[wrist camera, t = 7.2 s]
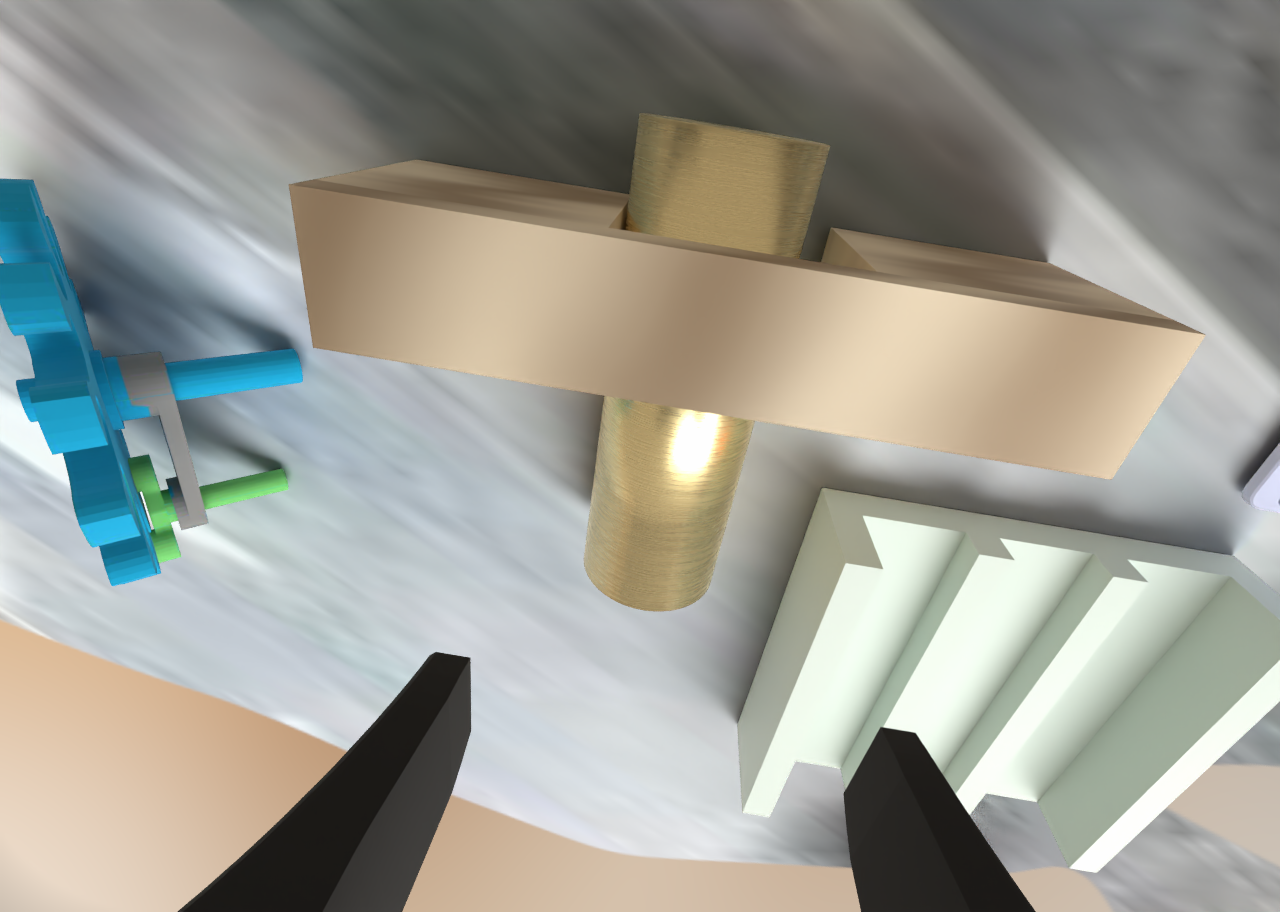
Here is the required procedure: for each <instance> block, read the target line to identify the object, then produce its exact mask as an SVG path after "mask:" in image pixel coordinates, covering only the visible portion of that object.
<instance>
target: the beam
mask: <svg viewBox="0 0 1280 912" xmlns="http://www.w3.org/2000/svg"><path fill="white" fill-rule="evenodd" d="M289 190H290V196H291V203H292V210H293V216H294V223H295V230H296V236H297V243H298V250H299V256H300V263H301V270H302V277H303V283H304V290H305V297H306V303H307V310H308V317H309V323H310V330H311V337H312V343H313V348H319V349H325V350H331V351H337V352H343V353H349V354H355V355H361V356H367V357H373V358H379V359H385V360H391V361H397V362H403V363H410V364H416V365H422V366H428V367H434V368H440V369H446V370H452V371H458V372H464V373H470V374H476V375H482V376H488V377H494V378H500V379H506V380H512V381H518V382H524V383H530V384H536V385H542V386H548V387H555V388H561V389H567V390H573V391H579V392H585V393H591V394H597V395H603V396H609V397H615V398H621V399H627V400H633V401H639V402H645V403H651V404H657V405H663V406H669V407H675V408H681V409H687V410H693V411H700V412H706V413H712V414H718V415H724V416H730V417H736V418H742V419H748V420H754V421H760V422H766V423H772V424H778V425H784V426H790V427H796V428H802V429H808V430H814V431H820V432H826V433H832V434H839V435H845V436H851V437H857V438H863V439H869V440H875V441H881V442H887V443H893V444H899V445H905V446H911V447H917V448H923V449H929V450H935V451H941V452H947V453H953V454H959V455H965V456H971V457H977V458H984V459H990V460H996V461H1002V462H1008V463H1014V464H1020V465H1026V466H1032V467H1038V468H1044V469H1050V470H1056V471H1062V472H1068V473H1074V474H1080V475H1086V476H1092V477H1098V478H1104V479H1110V480H1112V478H1113V477H1114V475H1115V474H1116V472H1117V470H1118V469H1119V467H1120V466H1121V464H1122V463H1123V461H1124V460H1125V458H1126V457H1127V455H1128V454H1129V452H1130V451H1131V449H1132V447H1133V446H1134V444H1135V443H1136V441H1137V440H1138V438H1139V437H1140V435H1141V434H1142V432H1143V431H1144V429H1145V428H1146V426H1147V424H1148V423H1149V421H1150V420H1151V418H1152V417H1153V415H1154V414H1155V412H1156V411H1157V409H1158V408H1159V406H1160V405H1161V403H1162V401H1163V400H1164V398H1165V397H1166V395H1167V394H1168V392H1169V391H1170V389H1171V388H1172V386H1173V385H1174V383H1175V381H1176V380H1177V378H1178V377H1179V375H1180V374H1181V372H1182V371H1183V369H1184V368H1185V366H1186V365H1187V363H1188V362H1189V360H1190V358H1191V357H1192V355H1193V354H1194V352H1195V351H1196V349H1197V348H1198V346H1199V345H1200V343H1201V342H1202V340H1203V339H1204V337H1205V334H1203V333H1201V332H1198V331H1196V330H1194V329H1192V328H1190V327H1188V326H1185V325H1183V324H1181V323H1179V322H1177V321H1174V320H1172V319H1170V318H1168V317H1166V316H1164V315H1161V314H1159V313H1157V312H1155V311H1153V310H1150V309H1148V308H1146V307H1144V306H1142V305H1140V304H1137V303H1135V302H1133V301H1131V300H1129V299H1127V298H1124V297H1122V296H1120V295H1118V294H1116V293H1113V292H1111V291H1109V290H1107V289H1105V288H1103V287H1100V286H1098V285H1096V284H1094V283H1092V282H1090V281H1087V280H1085V279H1083V278H1081V277H1079V276H1076V275H1074V274H1072V273H1070V272H1068V271H1066V270H1063V269H1061V268H1059V267H1057V266H1055V265H1052V264H1050V263H1046V262H1040V261H1034V260H1027V259H1021V258H1015V257H1009V256H1003V255H997V254H991V253H985V252H979V251H972V250H966V249H960V248H954V247H948V246H942V245H936V244H930V243H924V242H917V241H911V240H905V239H899V238H893V237H887V236H881V235H875V234H869V233H862V232H856V231H850V230H844V229H838V228H832V227H831V229H830V232H829V236H828V239H827V243H826V246H825V250H824V253H823V257H822V260H821V262H815V261H809V260H803V259H797V258H790V257H784V256H778V255H772V254H766V253H760V252H754V251H748V250H742V249H736V248H729V247H723V246H717V245H711V244H705V243H699V242H693V241H687V240H681V239H675V238H668V237H662V236H656V235H650V234H644V233H638V232H632V231H626V230H625V226H626V218H627V210H628V202H629V194H624V193H618V192H612V191H606V190H600V189H594V188H587V187H581V186H575V185H569V184H563V183H557V182H551V181H545V180H539V179H532V178H526V177H520V176H514V175H508V174H502V173H496V172H490V171H484V170H477V169H471V168H465V167H459V166H453V165H447V164H441V163H435V162H429V161H422V160H411V161H406V162H401V163H396V164H391V165H386V166H380V167H375V168H370V169H365V170H360V171H355V172H350V173H345V174H340V175H334V176H329V177H324V178H319V179H314V180H309V181H304V182H299V183H294V184H289Z"/></svg>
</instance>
